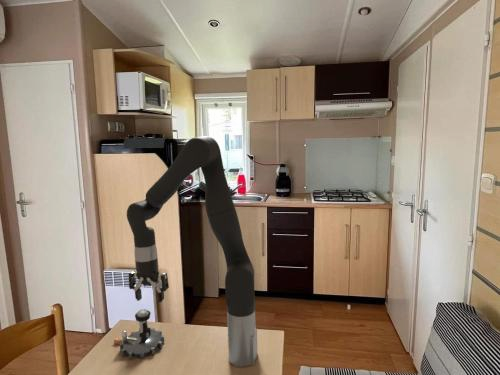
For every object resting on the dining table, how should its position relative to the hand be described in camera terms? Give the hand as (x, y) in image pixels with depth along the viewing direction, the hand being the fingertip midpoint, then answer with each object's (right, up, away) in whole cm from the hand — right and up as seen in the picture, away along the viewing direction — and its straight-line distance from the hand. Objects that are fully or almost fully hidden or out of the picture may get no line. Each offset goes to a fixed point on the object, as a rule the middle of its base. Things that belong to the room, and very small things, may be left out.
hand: (150, 300), depth 111 cm
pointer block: (-13, -17, +3) cm, 21 cm away
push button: (-3, -15, +1) cm, 15 cm away
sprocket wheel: (-3, -17, +1) cm, 17 cm away
